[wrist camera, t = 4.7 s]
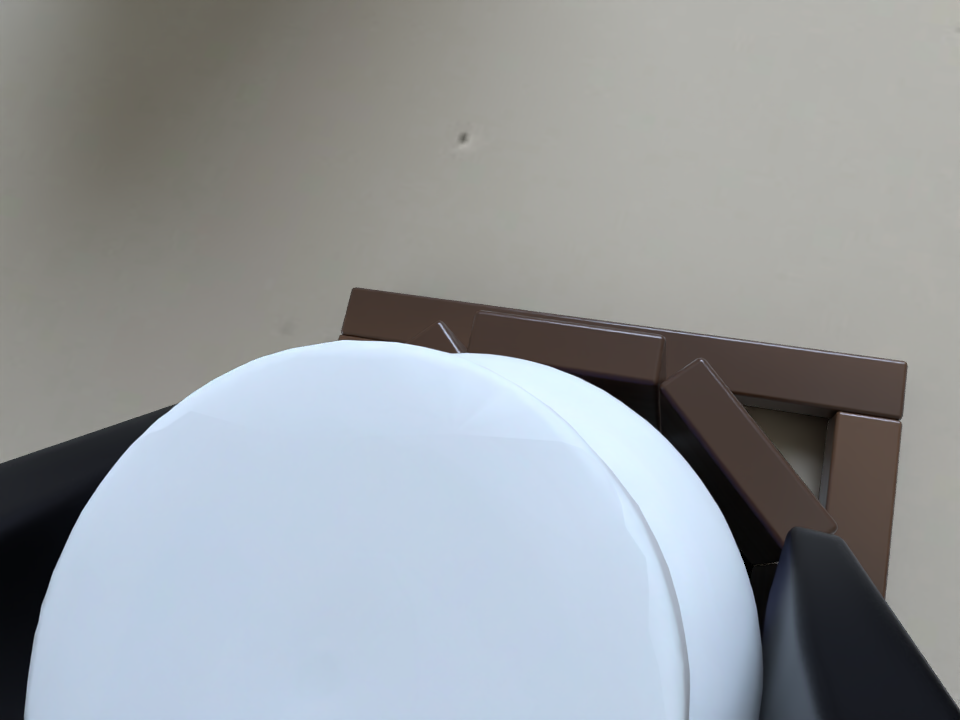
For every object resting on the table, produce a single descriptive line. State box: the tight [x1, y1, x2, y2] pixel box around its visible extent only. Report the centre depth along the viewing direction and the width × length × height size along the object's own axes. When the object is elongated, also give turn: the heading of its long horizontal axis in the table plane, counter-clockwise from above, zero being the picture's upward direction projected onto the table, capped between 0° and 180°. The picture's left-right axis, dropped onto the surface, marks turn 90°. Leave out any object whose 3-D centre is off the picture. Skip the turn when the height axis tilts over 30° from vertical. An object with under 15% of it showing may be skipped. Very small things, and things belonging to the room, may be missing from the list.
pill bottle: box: [24, 340, 763, 720], centre depth 9 cm, size 5×5×10 cm
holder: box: [338, 287, 908, 642], centre depth 12 cm, size 10×10×4 cm
